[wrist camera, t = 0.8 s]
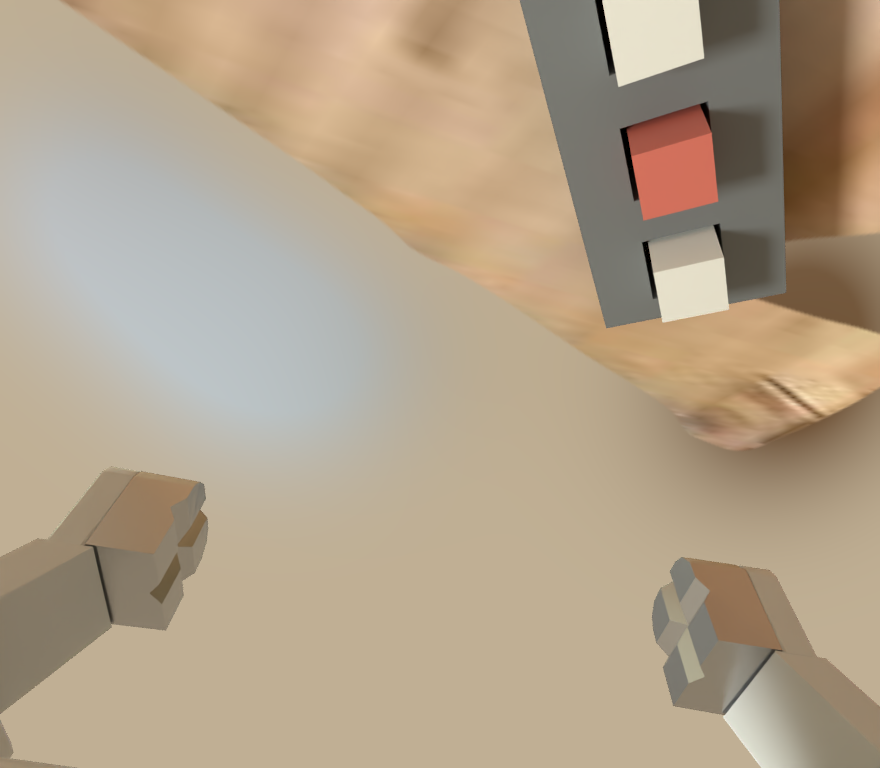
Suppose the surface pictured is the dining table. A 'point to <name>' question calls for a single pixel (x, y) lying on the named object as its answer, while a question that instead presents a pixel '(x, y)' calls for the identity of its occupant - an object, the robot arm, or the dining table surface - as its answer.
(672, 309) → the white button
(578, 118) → the button console
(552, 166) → the dining table surface
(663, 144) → the red button
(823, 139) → the dining table surface
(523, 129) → the dining table surface
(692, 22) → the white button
